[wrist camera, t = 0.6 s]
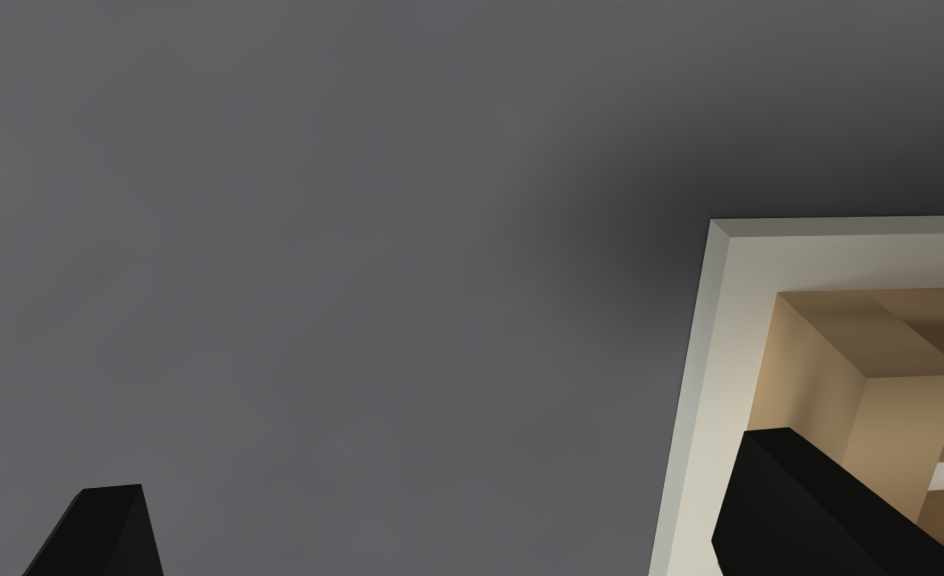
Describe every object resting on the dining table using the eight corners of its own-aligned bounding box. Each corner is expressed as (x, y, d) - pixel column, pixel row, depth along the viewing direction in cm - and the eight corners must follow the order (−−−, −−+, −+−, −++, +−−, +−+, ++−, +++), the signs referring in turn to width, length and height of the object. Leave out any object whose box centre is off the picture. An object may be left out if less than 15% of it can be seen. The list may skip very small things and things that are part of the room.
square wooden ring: (991, 543, 25) (1095, 650, 22) (716, 563, 24) (779, 680, 21) (1098, 283, 22) (1246, 362, 18) (776, 292, 20) (866, 378, 17)
